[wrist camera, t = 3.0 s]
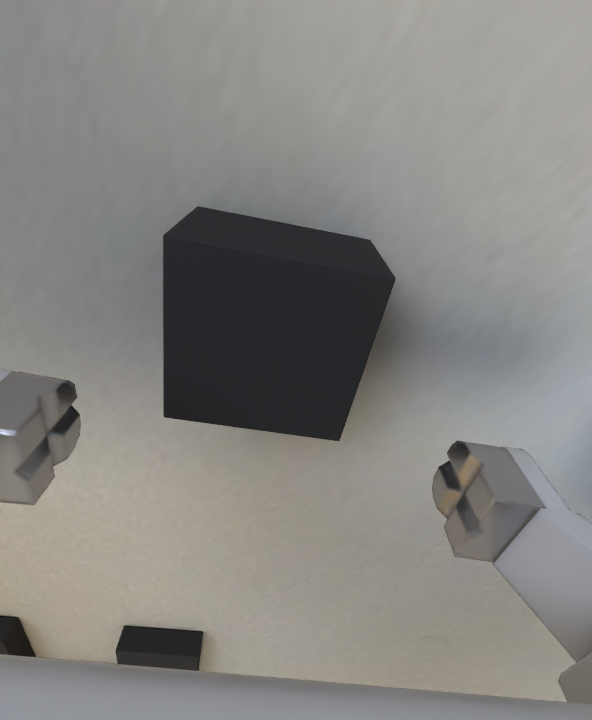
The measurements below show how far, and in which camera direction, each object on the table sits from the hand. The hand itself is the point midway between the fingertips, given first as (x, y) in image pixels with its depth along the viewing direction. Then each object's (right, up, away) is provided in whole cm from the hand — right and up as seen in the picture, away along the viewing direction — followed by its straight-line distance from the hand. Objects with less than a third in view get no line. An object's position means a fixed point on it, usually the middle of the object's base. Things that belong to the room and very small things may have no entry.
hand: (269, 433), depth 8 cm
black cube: (0, +4, +5) cm, 6 cm away
